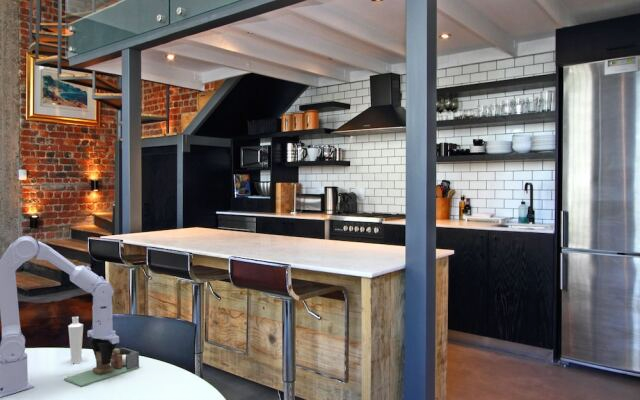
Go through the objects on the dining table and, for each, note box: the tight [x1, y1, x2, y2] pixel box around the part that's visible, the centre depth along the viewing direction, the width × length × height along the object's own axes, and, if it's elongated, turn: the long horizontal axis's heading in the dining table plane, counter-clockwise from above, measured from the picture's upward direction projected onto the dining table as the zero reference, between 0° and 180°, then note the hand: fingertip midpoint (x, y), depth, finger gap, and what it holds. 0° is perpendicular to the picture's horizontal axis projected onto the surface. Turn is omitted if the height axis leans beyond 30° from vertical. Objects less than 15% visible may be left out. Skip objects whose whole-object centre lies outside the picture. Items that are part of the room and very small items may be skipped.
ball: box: [122, 355, 126, 366], centre depth 165 cm, size 4×4×4 cm
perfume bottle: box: [67, 316, 84, 365], centre depth 171 cm, size 5×4×15 cm
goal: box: [112, 347, 140, 370], centre depth 165 cm, size 4×9×5 cm, turn 54°
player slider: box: [92, 347, 122, 374], centre depth 161 cm, size 8×4×6 cm, turn 144°
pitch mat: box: [63, 364, 139, 388], centre depth 159 cm, size 19×10×1 cm, turn 144°
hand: (103, 362), depth 159 cm, fingers closed on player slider, 3 cm apart
